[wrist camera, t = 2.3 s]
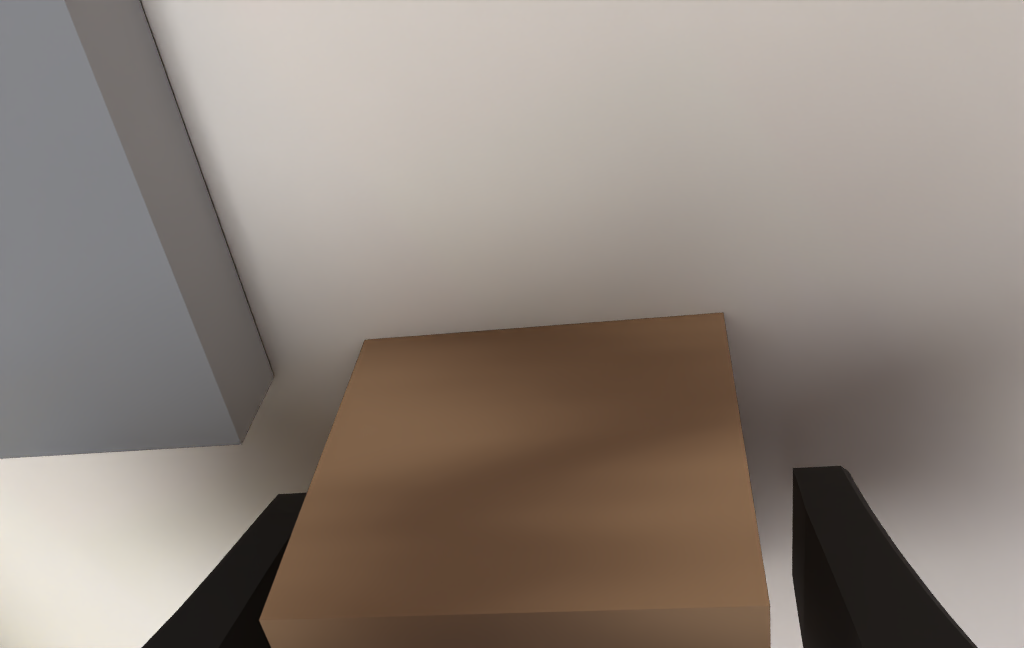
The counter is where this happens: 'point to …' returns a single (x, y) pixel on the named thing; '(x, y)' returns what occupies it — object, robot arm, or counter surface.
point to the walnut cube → (531, 496)
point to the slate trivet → (110, 249)
